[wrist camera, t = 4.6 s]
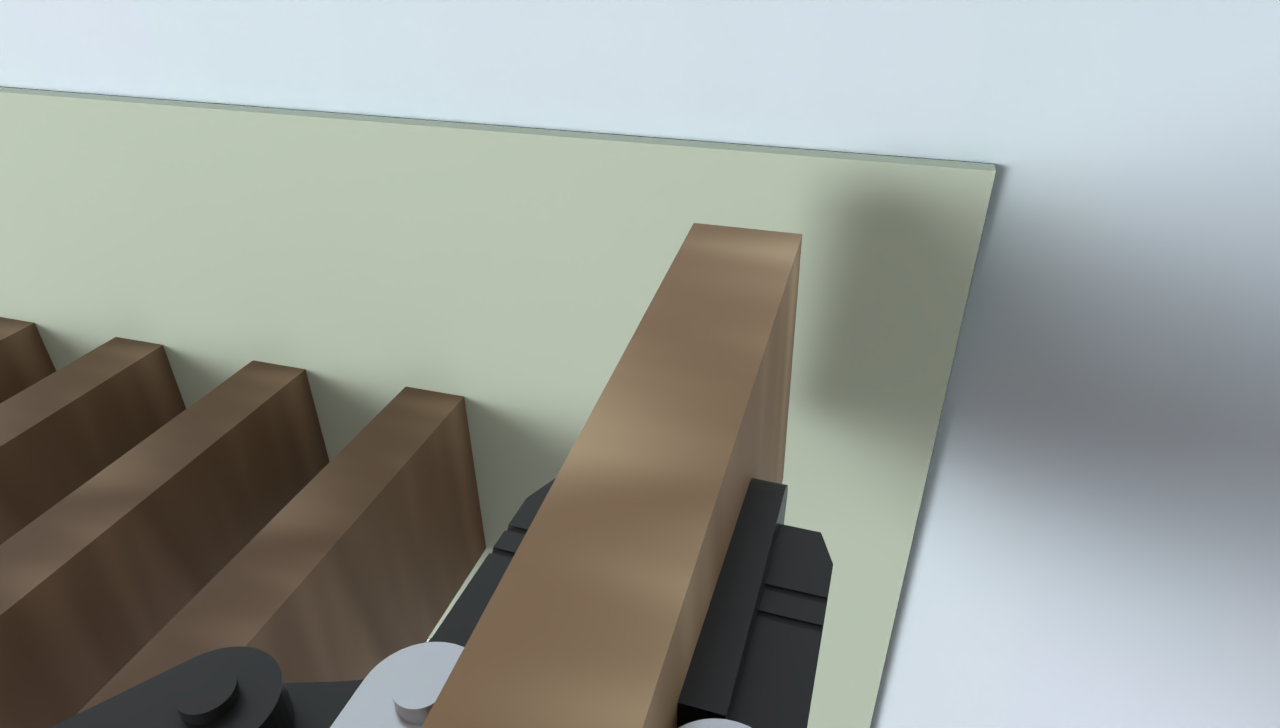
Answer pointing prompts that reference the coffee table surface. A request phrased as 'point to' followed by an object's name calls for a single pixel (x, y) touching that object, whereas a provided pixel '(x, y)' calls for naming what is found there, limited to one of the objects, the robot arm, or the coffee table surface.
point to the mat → (503, 291)
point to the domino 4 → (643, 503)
